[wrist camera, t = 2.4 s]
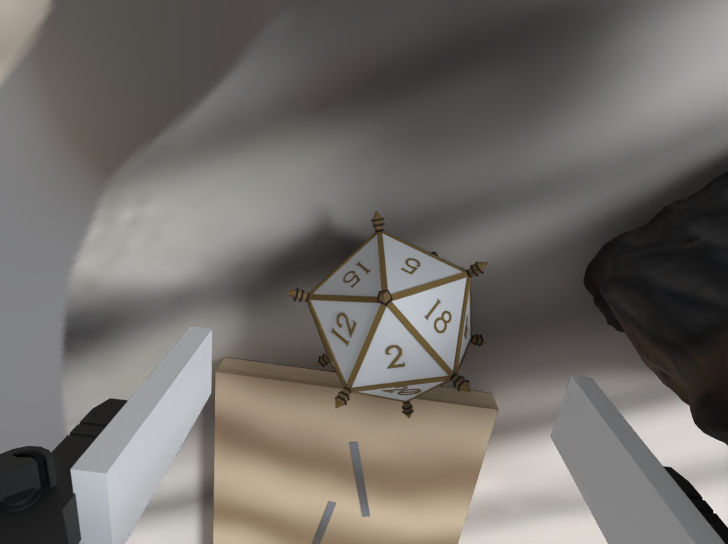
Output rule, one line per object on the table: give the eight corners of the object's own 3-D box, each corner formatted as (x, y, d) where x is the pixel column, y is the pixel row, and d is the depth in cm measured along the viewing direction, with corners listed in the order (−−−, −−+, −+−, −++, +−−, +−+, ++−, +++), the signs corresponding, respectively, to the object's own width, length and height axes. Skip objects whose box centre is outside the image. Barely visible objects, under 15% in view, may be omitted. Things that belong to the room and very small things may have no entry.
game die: (422, 260, 27) (558, 361, 20) (321, 355, 27) (427, 494, 20) (361, 152, 21) (530, 248, 14) (224, 275, 20) (333, 439, 13)
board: (224, 357, 26) (215, 372, 24) (492, 393, 26) (498, 410, 25) (218, 609, 34) (211, 631, 33) (421, 634, 34) (423, 657, 33)
